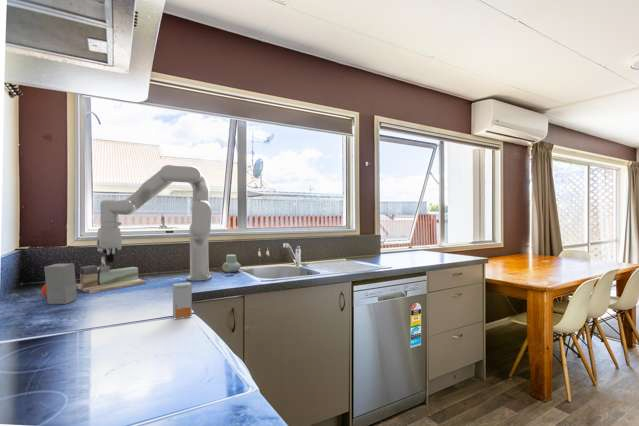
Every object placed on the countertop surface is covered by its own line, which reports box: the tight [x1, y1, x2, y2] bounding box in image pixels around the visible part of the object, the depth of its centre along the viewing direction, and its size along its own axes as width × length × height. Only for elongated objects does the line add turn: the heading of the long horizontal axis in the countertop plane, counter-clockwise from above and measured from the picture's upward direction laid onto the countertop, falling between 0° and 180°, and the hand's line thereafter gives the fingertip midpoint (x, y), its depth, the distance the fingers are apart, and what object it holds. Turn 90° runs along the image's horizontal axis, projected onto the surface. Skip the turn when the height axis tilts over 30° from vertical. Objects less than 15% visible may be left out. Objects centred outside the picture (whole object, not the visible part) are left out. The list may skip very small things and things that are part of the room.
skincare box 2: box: [172, 281, 193, 319], centre depth 126 cm, size 6×4×12 cm
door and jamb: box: [76, 264, 146, 294], centre depth 175 cm, size 18×25×11 cm
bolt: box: [97, 256, 106, 272], centre depth 170 cm, size 2×10×7 cm, turn 143°
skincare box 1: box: [43, 262, 78, 305], centre depth 145 cm, size 8×7×16 cm
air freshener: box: [221, 254, 242, 274], centre depth 212 cm, size 11×8×10 cm
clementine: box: [41, 283, 47, 298], centre depth 152 cm, size 8×7×7 cm
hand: (109, 262), depth 174 cm, fingers closed
